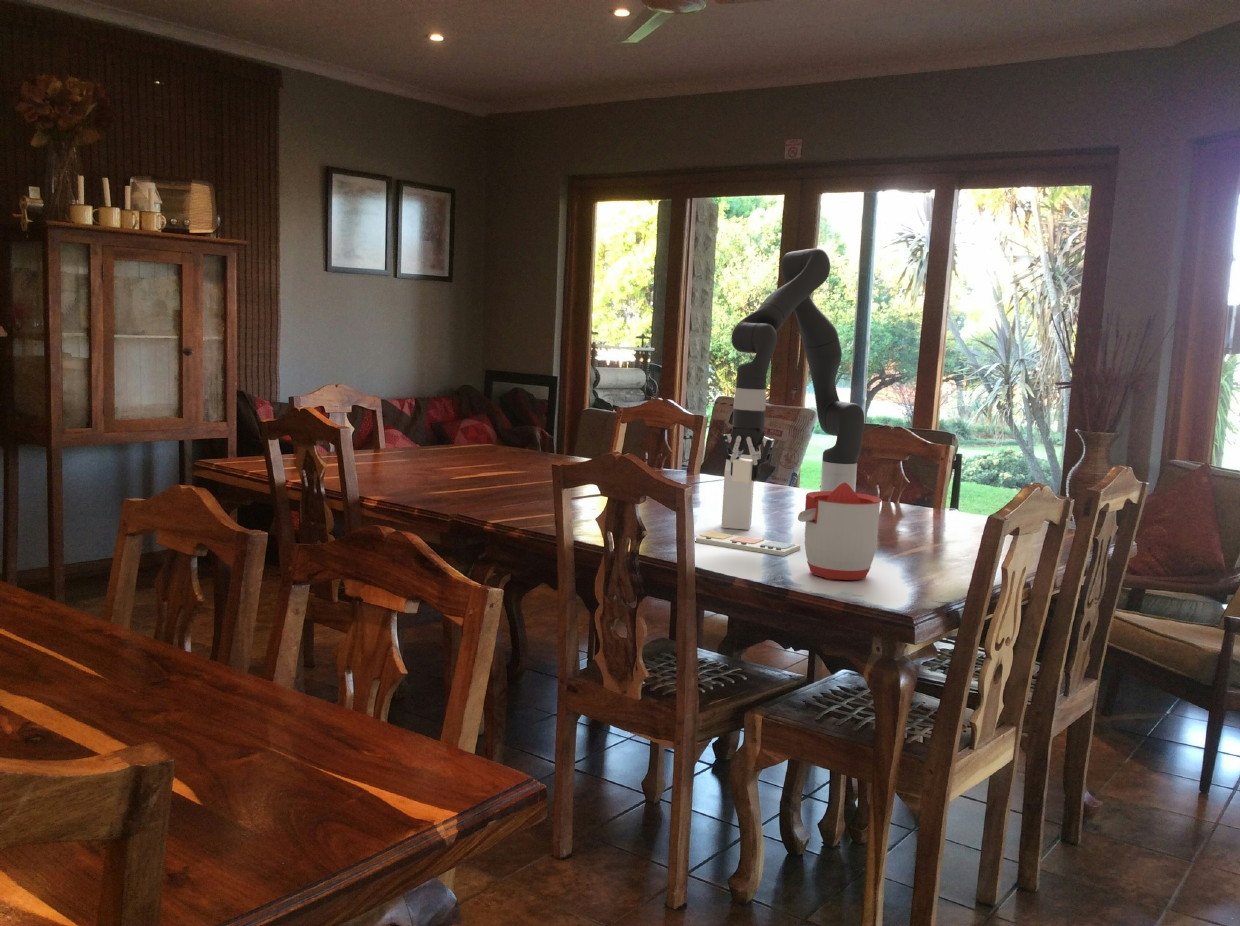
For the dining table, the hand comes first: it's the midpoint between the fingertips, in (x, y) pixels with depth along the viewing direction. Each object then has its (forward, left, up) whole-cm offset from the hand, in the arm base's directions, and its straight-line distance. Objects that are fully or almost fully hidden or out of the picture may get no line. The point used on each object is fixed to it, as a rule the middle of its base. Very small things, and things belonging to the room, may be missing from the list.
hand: (744, 479), depth 255 cm
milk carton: (-20, -10, -16) cm, 27 cm away
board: (+1, +2, -16) cm, 16 cm away
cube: (0, 0, 0) cm, 0 cm away
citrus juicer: (+17, +30, -16) cm, 38 cm away
